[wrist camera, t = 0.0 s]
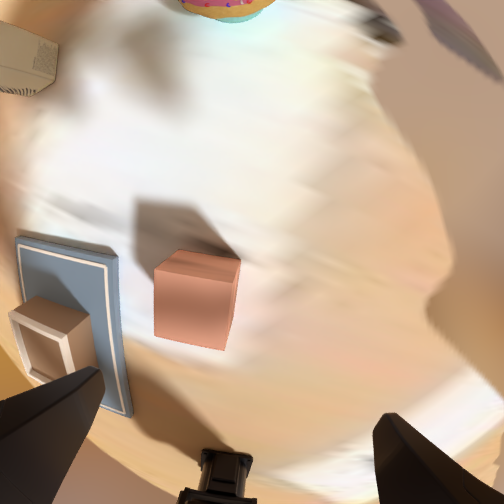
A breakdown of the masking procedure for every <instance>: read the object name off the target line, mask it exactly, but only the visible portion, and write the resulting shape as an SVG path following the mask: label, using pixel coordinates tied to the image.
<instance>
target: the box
mask: <svg viewBox="0 0 504 504" xmlns="http://www.w3.org/2000/svg"><path fill="white" fill-rule="evenodd" d="M58 47H59V45H58V44H56V43H54V42H52V41H50V40H48V39H45V38H43V37H41V36H39V35H36V34H34V33H31V32H29V31H27V30H24V29H22V28H19V27H16V26H14V25H11V24H8V23H6V22H3V21H0V92H5V93H11V94H17V95H22V96H27V97H31V96H32V95H34V94H36V93H37V92H39V91H40V90H42V89H44V88H45V87H47V86H48V85H50V84H51V83H53V82H54V81H55V75H56V65H57V56H58Z"/></svg>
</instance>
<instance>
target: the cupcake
mask: <svg viewBox="0 0 504 504" xmlns="http://www.w3.org/2000/svg"><path fill="white" fill-rule="evenodd" d="M178 1H179V2H180V3H181V4H182V5H183V7H184V8H185V9H186V10H188V11H190V12H193V13H196V14H199V15H202V16H205V17H208V18H212V19H216V20H218V21H221V22H226V23H240V22H244V21H248V20H250V19H252V18H254V17H256V16H257V15H258V14H259V13H260V12H261V11H262V10H263V8H265V7H267V6H269V5H270V4H272V3H273V2H274V1H275V0H178Z"/></svg>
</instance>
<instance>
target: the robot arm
mask: <svg viewBox="0 0 504 504" xmlns="http://www.w3.org/2000/svg"><path fill="white" fill-rule="evenodd" d="M105 390H106V387H105V382H104V377H103V373H102V371H101V369H99V368H96V367H94V366H87V367H85V368H82V369H80V370H77V371H75V372H73V373H70V374H68V375H65V376H63V377H61V378H58V379H56V380H53V381H51V382H48V383H46V384H43V385H41V386H38V387H36V388H33V389H31V390H28V391H25V392H23V393H20V394H17V395H15V396H12V397H9V398H7V399H5V400H1V401H0V504H52V502H53V500H54V498H55V496H56V493H57V492H58V489H59V488H60V485H61V483H62V481H63V479H64V477H65V475H66V473H67V472H68V469H69V467H70V466H71V464H72V461H73V460H74V458H75V456H76V454H77V452H78V450H79V449H80V447H81V445H82V443H83V441H84V439H85V437H86V436H87V434H88V432H89V430H90V428H91V426H92V423H93V421H94V418H95V416H96V413H97V411H98V409H99V406H100V404H101V401H102V399H103V397H104V394H105ZM373 448H374V466H375V475H376V481H377V488H378V494H379V501H380V504H504V495H503V494H502V493H500V492H498V491H496V490H495V489H493V488H491V487H490V486H488V485H486V484H485V483H483V482H482V481H480V480H479V479H477V478H476V477H474V476H473V475H472V474H470V473H469V472H468V471H467V470H465V469H463V467H461V466H460V465H459V464H458V463H456V462H455V461H454V460H453V459H451V458H450V457H449V456H448V455H446V454H445V453H444V452H443V451H441V450H440V449H439V448H438V447H437V446H435V445H434V444H433V443H432V442H430V441H429V440H428V439H427V438H426V437H424V436H423V435H422V434H421V433H419V432H418V431H417V430H416V429H415V428H413V427H412V426H411V425H410V424H409V423H407V422H406V421H405V420H404V419H403V418H402V417H400V416H399V415H398V414H397V413H385V414H383V415H382V417H381V418H380V420H379V421H378V423H377V424H376V426H375V428H374V430H373ZM252 462H253V457H251V456H244V455H236V454H230V453H223V452H217V451H212V450H207V449H203V450H202V453H201V471H202V474H201V478H200V482H199V487H198V490H194V489H190V488H187V487H185V490H184V491H180V494H179V497H178V500H177V503H176V504H257V498H244V492H245V483H246V478H247V477H248V474H249V471H250V468H251V465H252Z"/></svg>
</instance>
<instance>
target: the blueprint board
mask: <svg viewBox="0 0 504 504" xmlns="http://www.w3.org/2000/svg"><path fill="white" fill-rule="evenodd" d="M15 245H16V256H17V265H18V273H19V280H20V287H21V293H22V298H23V304H22V305H20V306H18V307H17V308H15V309H14V310H12V311H11V312H9V313H8V315H9V319H10V323H11V327H12V331H13V334H14V338H15V341H16V344H17V347H18V350H19V353H20V356H21V359H22V362H23V365H24V368H25V370H26V373H27V375H28V376H29V377H31V378H33V379H34V380H36V381H38V382H40V383H41V384H46V383H48V382H51V381H53V380H56V379H58V378H61V377H63V376H65V375H68V374H70V373H73V372H75V371H77V370H80V369H82V368H85V367H87V366H94V367H96V368H99V369H101V371H102V373H103V377H104V382H105V387H106V390H105V394H104V397H103V399H102V401H101V404H100V406H99V407H101V408H104V409H106V410H109V411H112V412H114V413H117V414H120V415H122V416H125V417H128V418H131V417H132V416H133V414H134V412H133V407H132V402H131V396H130V391H129V385H128V378H127V372H126V365H125V357H124V349H123V340H122V329H121V317H120V302H119V276H118V257H117V256H112V255H107V254H102V253H97V252H93V251H88V250H83V249H78V248H74V247H69V246H64V245H60V244H55V243H51V242H46V241H42V240H37V239H33V238H29V237H24V236H19V237H16V238H15Z"/></svg>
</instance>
